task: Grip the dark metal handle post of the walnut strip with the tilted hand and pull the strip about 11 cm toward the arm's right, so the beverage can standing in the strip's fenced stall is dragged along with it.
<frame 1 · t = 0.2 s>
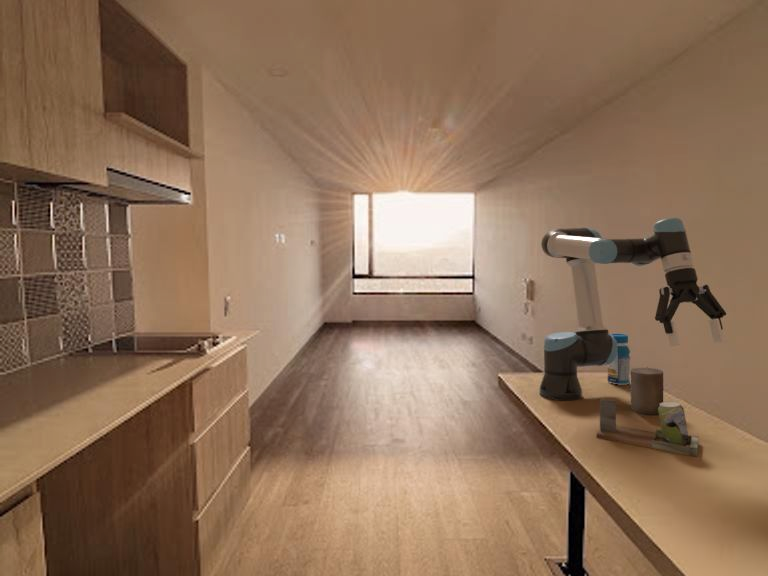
hand: (697, 343, 127), 27 cm above the table, tool tilted 20°, fingers open, 13 cm apart
pillar candle: (646, 411, 155), on the table
beverage can: (673, 446, 126), resting in pull strip
pull strip: (645, 423, 129), point 5 cm above the table, slide at 0.0 cm
beverage bottle: (618, 383, 189), on the table
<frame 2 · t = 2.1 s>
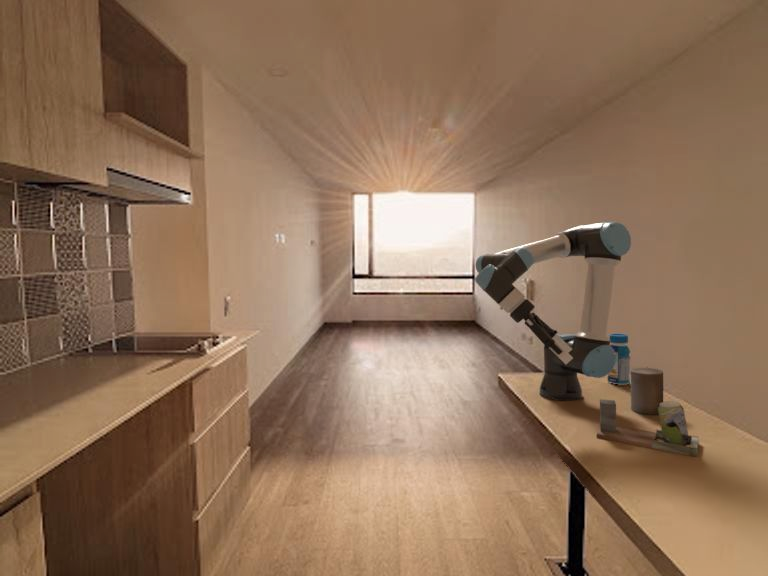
hand: (569, 356, 138), 22 cm above the table, tool tilted 45°, fingers open, 13 cm apart
nothing on the table moved.
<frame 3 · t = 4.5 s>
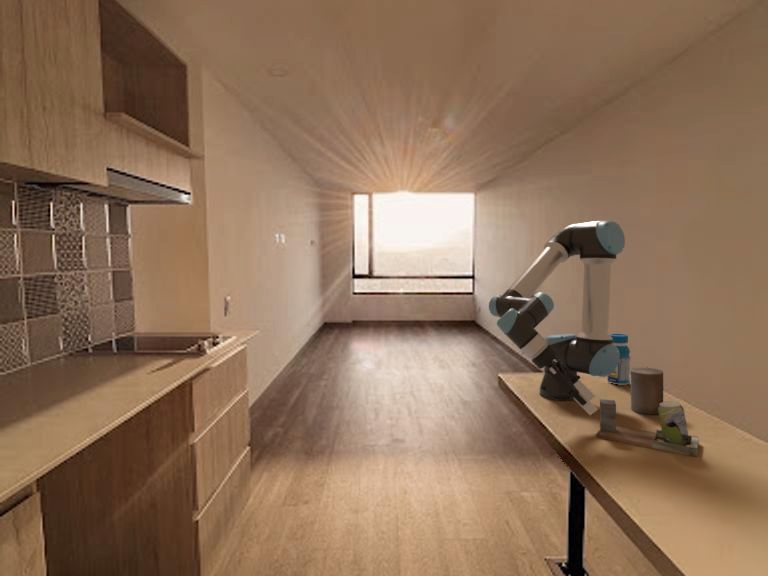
hand: (592, 405, 135), 9 cm above the table, tool tilted 45°, fingers open, 13 cm apart
nothing on the table moved.
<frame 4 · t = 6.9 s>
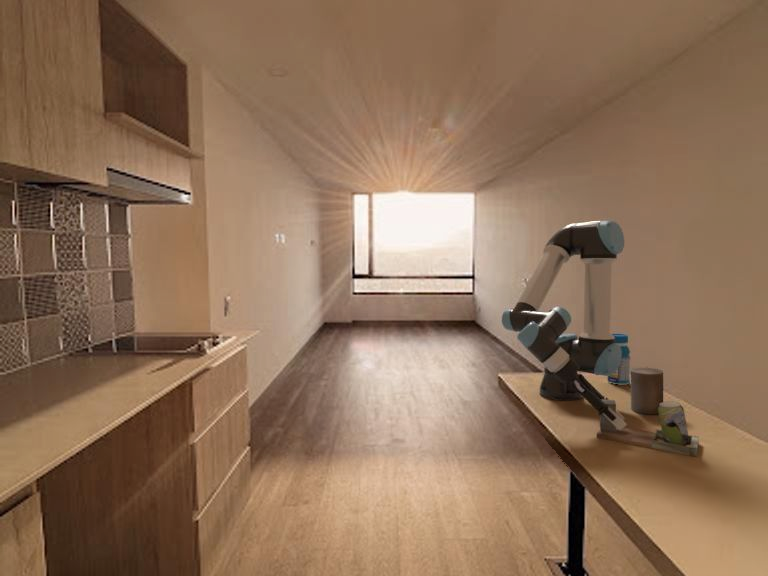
hand: (622, 424, 134), 3 cm above the table, tool tilted 45°, fingers closed on pull strip, 4 cm apart
pull strip: (645, 423, 129), point 5 cm above the table, slide at 0.0 cm, touching gripper
everything else where it was.
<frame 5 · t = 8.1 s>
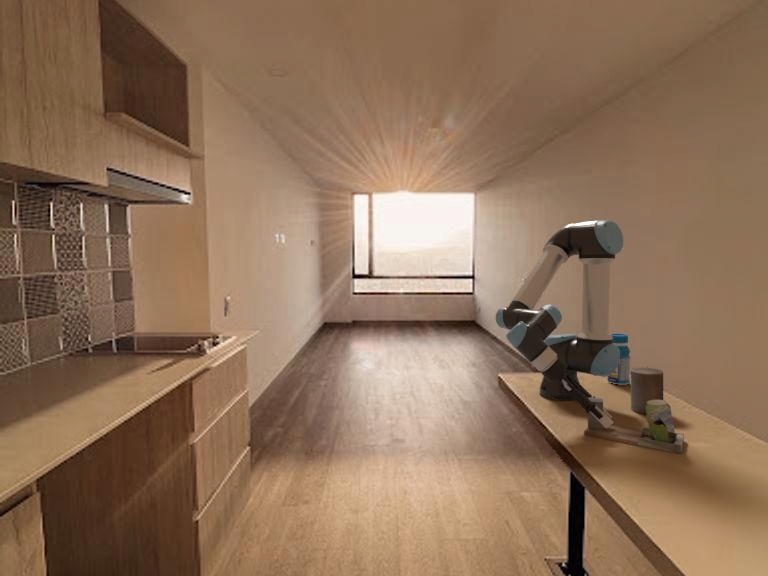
hand: (608, 422, 136), 3 cm above the table, tool tilted 45°, fingers closed on pull strip, 4 cm apart
beverage can: (660, 444, 128), resting in pull strip
pull strip: (631, 421, 131), point 5 cm above the table, slide at 3.4 cm, touching beverage can, gripper
everything else where it was.
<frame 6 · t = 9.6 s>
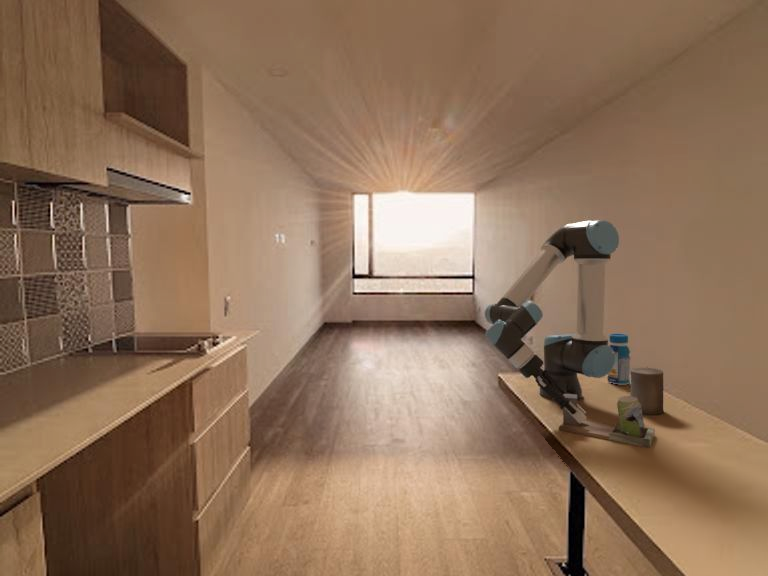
hand: (582, 417, 140), 3 cm above the table, tool tilted 45°, fingers closed on pull strip, 4 cm apart
beverage can: (631, 439, 131), resting in pull strip
pull strip: (604, 416, 136), point 5 cm above the table, slide at 10.6 cm, touching beverage can, gripper
everything else where it was.
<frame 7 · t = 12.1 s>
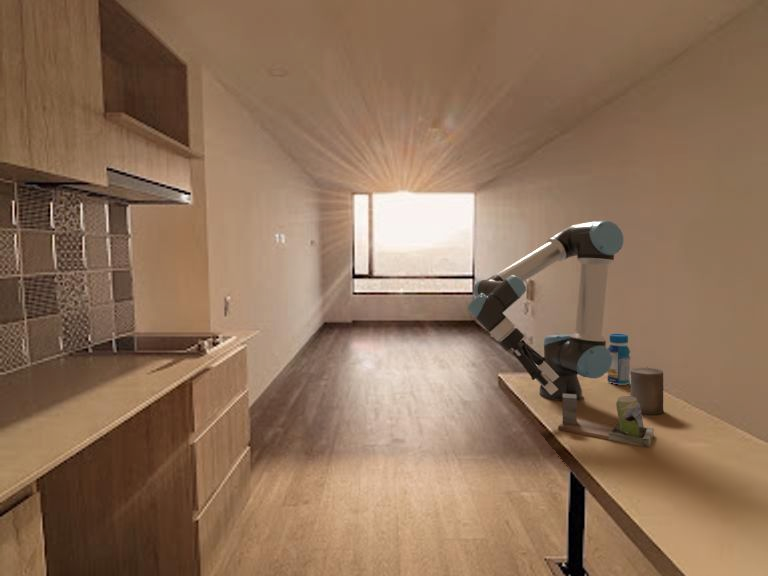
hand: (555, 385, 143), 12 cm above the table, tool tilted 45°, fingers open, 13 cm apart
beverage can: (630, 439, 131), resting in pull strip
pull strip: (603, 416, 136), point 5 cm above the table, slide at 10.8 cm
everything else where it was.
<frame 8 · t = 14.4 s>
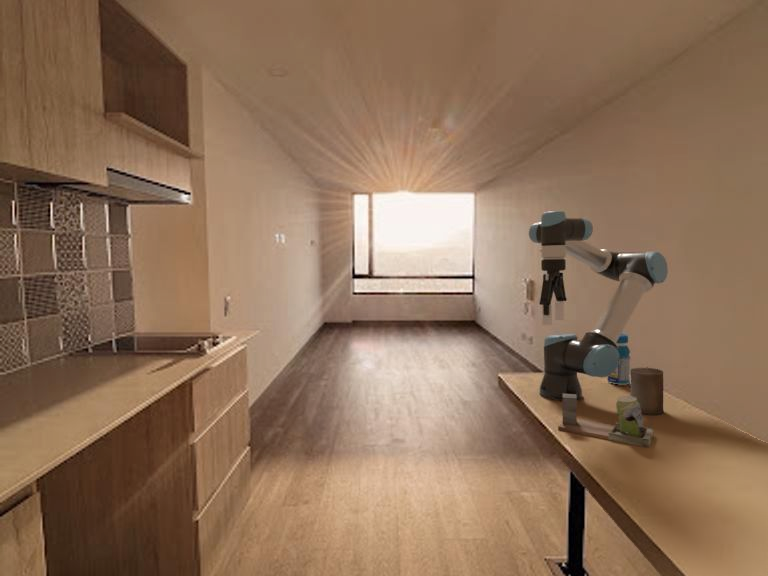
hand: (553, 322, 153), 31 cm above the table, tool pointing down, fingers open, 13 cm apart
nothing on the table moved.
at the end: pull strip slide at 10.8 cm; beverage can inside the target area (1.3 cm from its centre), resting in pull strip; beverage can tilted 0° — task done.
